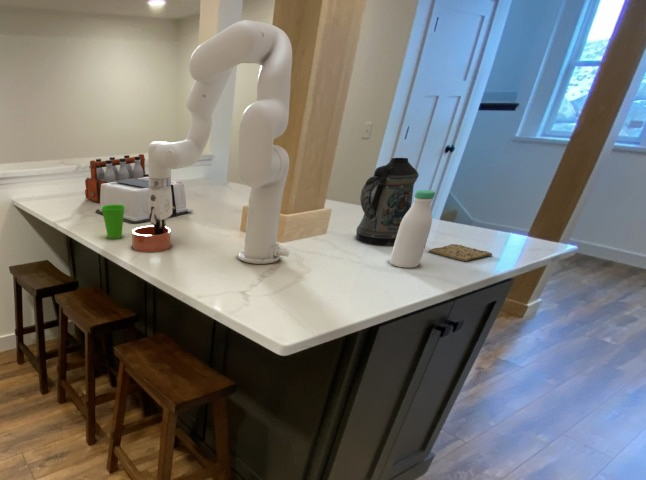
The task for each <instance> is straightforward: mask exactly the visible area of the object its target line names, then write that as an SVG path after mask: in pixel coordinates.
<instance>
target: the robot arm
mask: <svg viewBox="0 0 646 480" xmlns="http://www.w3.org/2000/svg"><path fill="white" fill-rule="evenodd" d="M188 64H189V65H188V69H189V73H190V76H191V78H192V79H193V80H194V82H193V84H192V86H191V88H190V91H189V93H188V96H187V99H186V102H185V105H186V108H187V110H188V111H189V112H190V114H191V125H190V127H189V131H188V133H187V135H186V137H185V139H184V140H179V141H174V142H168V141H152V142H150V143H149V145H148V147H147V157H148V158H147V159H148V161H147V162H148V163H147V164H148V170H147V171H148V174H149V201H148V215H149V219H151V220H150V225H152V226H154V231H155V235H159V234H163V228H162V226H163V227H167V220H168V219H169V218H168V217H170V216H171V215H172V192H171V181H172V170H178V169H181V168H185V167H189V166H192V165H195V163H197V162H198V160H199V159H200V158H201V156H202V154H203V152H204V150H205V148H206V146H207V144H208V142H209V139H210V135H211V130H212V123H213V122H212V121H213V114H214V112H215V109H216V106H217V104H218V103H219V100H220V98H221V96H222V93H223V91H224V89H225V88H226V85H227V83H228V80H229V79H230V76H231V75H232V73H233V68H235V67H236V66H238V65H241V64H257V65H259V73H258V76H257V81H256V99H255V100H256V101H254V102H252V103H251V104H249V105H248V106H247V107H246V108H245V110H244V111H243V113H242V115H241V118H240V122H239V129H238V174H239V178H240V179H241V181H242V183H243V184H244V185H246V186H247V187H249V188H250V192H249V197H248V205H247V214H246V215H247V216H246V224H245V225H246V228H245V234H244V235H245V236H244V246H243V250H241V251H240V252H238V259H239V260H240V261H242V262H245V263H248V264H255V265H257V264H258V265H265V264H272V263H275V262H278V261H279V260H280V256H281V257H285V258H287V257H289V256H290V250H289V249H288V248H285V247H280V246H279V245H280V242H277V241H278V233H279V225H280V220H281V219H280V217H281V211H282V205H283V197H284V192H285V187H286V183H287V178H288V176H289V171H290V156H289V154H288V152H287V150H286V149H285V147H282V146H280V145H277V144H274V140H276V139H278V138H279V137H281V136H283V134H284V133H285V132H286V130H287V128H288V125H289V118H290V101H291V80H292V68H293V48H292V42H291V40H290V38H289V36H288V34H287V33H286V32H285V31H284V30H283V29H281V28H280V27H278V26H276V25H273V24H272V23H267V22H262V21H256V20H250V19H243V20H239V21H236V22H234V23H233V24H230V25H229V26H227V27H225V28H224V29H223V30H221V31H220V32H217V34H215V35H212V36H211V37H209V39H207V40H205V41H203V42H202V43H200V44H199V45H198V46H197V47H196V48H195V49H194V51H193V52H192V54H191V57H190V60H189V63H188ZM170 218H171V217H170Z"/></svg>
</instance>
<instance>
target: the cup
mask: <svg viewBox="0 0 646 480" xmlns="http://www.w3.org/2000/svg"><path fill="white" fill-rule="evenodd" d="M124 208H125V206H124V205H106V206H102V207H101V209H102V212H103V214H102V217H103V220H104V225H105V230H106V234H107V238H108V239H110V240H118V239H121V238H122V235H123V226H124V221H123V217H124Z"/></svg>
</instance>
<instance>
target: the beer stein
mask: <svg viewBox="0 0 646 480" xmlns="http://www.w3.org/2000/svg"><path fill="white" fill-rule="evenodd" d="M419 174H420V173H419V172H418V171H417V170H416V168H414V167H413V166H412V164H411V163H410V162H409V158H408V157H393V158H390V161H389V162H388V163H387V164H386V165H381V166H379V167H376V168H375V170H374V172H373V176H371V177H370V178H368V179H367V180H366V181H365V183H364V184H363V186H362V189H361V191H360V198H359V199H360V206H361V209H362V212H363V213H364V214H363V216H362V219H361V221H360V223H359V224H358V226H357V227H356V230H355V231H356V240H357V241H359V242H361V243H363V244H367V245H373V246H383V247H394V243H395V240H396V236H397V233H398V230H399V227H400V223H401V221H402V219H403V217H404V216H405V214H406V213H407V212H408V210H409V209H410V208H411V206H412V204H413V203H412V202H413V194H414V186H415V183H416V182H417V181H418V179H419V176H420V175H419Z"/></svg>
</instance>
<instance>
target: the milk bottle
mask: <svg viewBox="0 0 646 480" xmlns="http://www.w3.org/2000/svg"><path fill="white" fill-rule="evenodd" d="M435 195H436V191H434V190H429V189H418V190H415V193H414V197H413V201H412V202H413V203H412V204H411V208H410V209H409V210H408V212H407V213H406V214H405V216H404V217H403V219H402V221H401V223H400V227H399V230H398V233H397V236H396V240H395V243H394V246H392V247H393V248H392V251H391V254H390V258H389V263H390V264H391V265H392V266H394V267H395V266H396V267H400V268H416V267H418V266H419V265H420V263H421V261H422V257H423V254H424V251H425V248H426V245H427V241H428V238H429V235H430V231H431V229H432V222H433V216H432V215H433V214H432V209H431V208H432V201H433V200H434V197H435Z"/></svg>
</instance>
